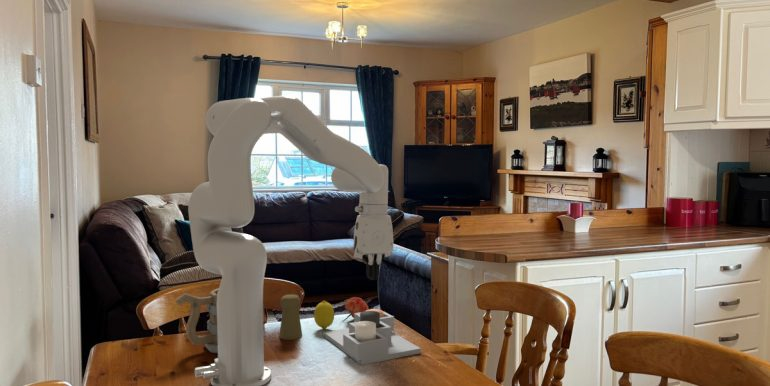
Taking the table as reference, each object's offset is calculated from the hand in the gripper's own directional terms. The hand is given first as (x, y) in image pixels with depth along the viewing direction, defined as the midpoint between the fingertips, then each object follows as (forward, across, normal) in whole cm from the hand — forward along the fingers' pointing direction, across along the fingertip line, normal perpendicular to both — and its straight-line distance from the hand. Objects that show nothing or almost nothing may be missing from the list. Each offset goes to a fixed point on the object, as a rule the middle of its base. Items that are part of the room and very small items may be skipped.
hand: (372, 278), depth 152 cm
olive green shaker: (+16, -20, +9) cm, 27 cm away
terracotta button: (+13, +1, 0) cm, 13 cm away
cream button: (+11, -9, -15) cm, 21 cm away
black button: (+11, -4, -7) cm, 14 cm away
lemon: (+15, -10, +10) cm, 21 cm away
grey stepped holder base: (+15, -4, -7) cm, 17 cm away
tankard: (+16, -39, +9) cm, 43 cm away
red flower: (+15, +1, +13) cm, 20 cm away
